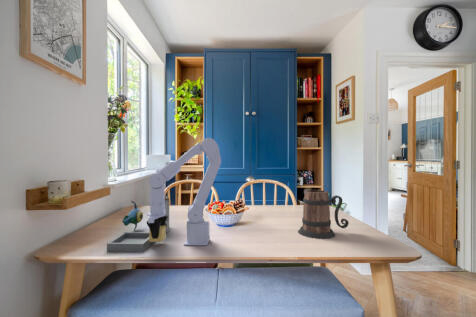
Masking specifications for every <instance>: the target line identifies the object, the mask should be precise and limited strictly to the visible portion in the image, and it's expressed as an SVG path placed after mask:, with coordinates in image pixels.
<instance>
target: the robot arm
mask: <svg viewBox="0 0 476 317" xmlns="http://www.w3.org/2000/svg"><path fill="white" fill-rule="evenodd" d="M202 154H204V155H205V156H206V157H207V160H208V162H209V163H208V166H207V168H206V171H205V174H204V176H203V178H202V181H201V183H200V185H199V188H198V191H197V193H196V196H195V198H194V200H193V202H192V204H190V205H189V206H188V210H187V219H186V241H185V242H184V243H183V245H184V246H208V244H209V241H210V221H209V220H205V218H204V209H205V206H206V201H207V200H208V197H209V195H210V193H211V189H212V187H213V184H214V182H215V179H216V177H217V175H218V172H219V169H220V167H221V164H222V159H221V158H222V157H221V154H220V146H219V145H218V143H217V142H216V140H215V139H213V138H212V137H207V138H204V139H203V140H202V142H201V141H200V142H198V143H196V144H195V145H193V146H192V147H190V148H189V149H188V150H187V151H186V152H185V153H184V154H182V155H181V156H180V157H178V159H176V160H170V161H166V162H165V165H164V166H162V167H161V168H160V169H157V170H156V173H152V174H151V176H150V177H149V179H148V184H149V186H150V188H149V189H150V191H149V210H150V211H149V212H148V213H146V214H147V217H148V218H147V221H146V225H147V227H148V228H149V229H150V231H151V235H152V238H153V239H157V238H158V236H159V229H160V226H165V222H166V220H167V218H168V216H165V214H166V210H165V196H166V193H165V184H166V182H169V181H170V180H171V179H172V178H174V177H175V176H176V175H177V174H178V173H179V172H180V171H181V167H182V166H183V165H184V164H186V163H187V162H189V161H190V160H191V159H193V157H195V156H198V155H202ZM149 229H148V230H149Z"/></svg>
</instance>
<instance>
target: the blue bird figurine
mask: <svg viewBox="0 0 476 317" xmlns="http://www.w3.org/2000/svg"><path fill="white" fill-rule="evenodd" d="M130 202H131V203H133V205H134V208H133V209H132V210H130V211H129V212H128V213H127V214H126V215H124V217H123V219H122V220H121V222H122V224H123V225H124V226H125V227H127V226H128V225H130V224H131V225H135V226H134V229H133V231H136V229H137V226H138V223H141V222H142V220H143V219H144V213H143V211H142V210H141V209H140V208H138V206H137V203H136V202H135V201H133V200H131V201H130Z"/></svg>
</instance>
